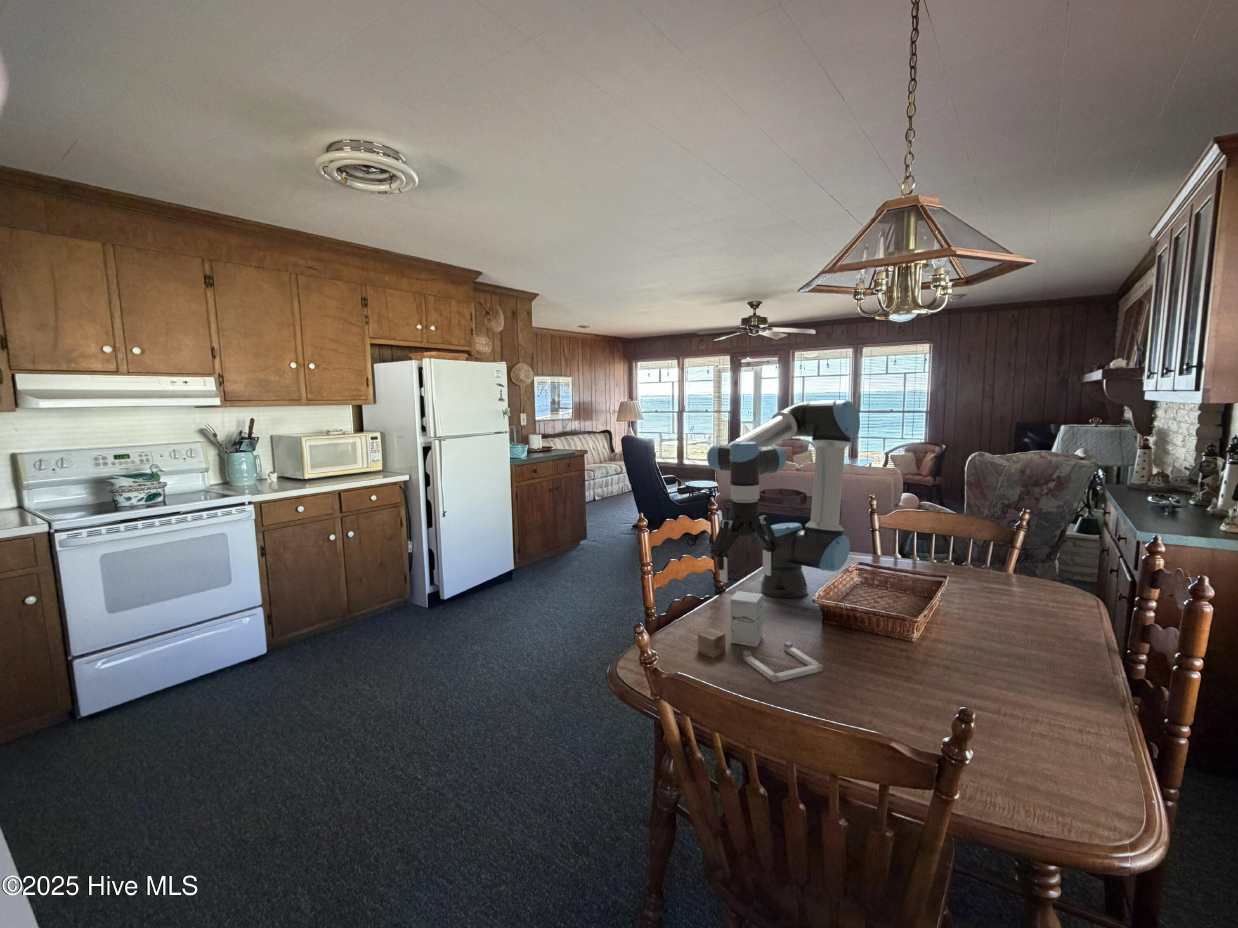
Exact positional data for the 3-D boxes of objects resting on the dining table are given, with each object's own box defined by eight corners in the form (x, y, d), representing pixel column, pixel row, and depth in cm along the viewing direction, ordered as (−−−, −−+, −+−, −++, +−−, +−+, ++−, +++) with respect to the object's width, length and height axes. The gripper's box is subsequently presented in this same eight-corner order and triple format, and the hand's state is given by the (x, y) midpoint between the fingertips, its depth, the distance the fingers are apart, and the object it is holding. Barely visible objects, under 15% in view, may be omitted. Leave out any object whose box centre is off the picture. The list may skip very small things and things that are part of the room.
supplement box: (729, 643, 149) (729, 598, 148) (737, 633, 156) (736, 589, 154) (757, 648, 146) (756, 602, 144) (763, 637, 152) (763, 593, 151)
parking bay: (788, 648, 145) (788, 641, 144) (823, 670, 133) (823, 662, 132) (742, 659, 140) (742, 651, 140) (774, 682, 128) (773, 674, 128)
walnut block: (710, 646, 148) (710, 628, 148) (725, 651, 145) (725, 633, 144) (698, 651, 145) (697, 633, 145) (713, 658, 141) (712, 639, 141)
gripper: (775, 494, 154) (776, 567, 156) (696, 502, 146) (697, 579, 148) (792, 497, 147) (792, 575, 149) (710, 506, 139) (711, 588, 141)
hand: (745, 577), depth 149 cm, fingers open, 13 cm apart
